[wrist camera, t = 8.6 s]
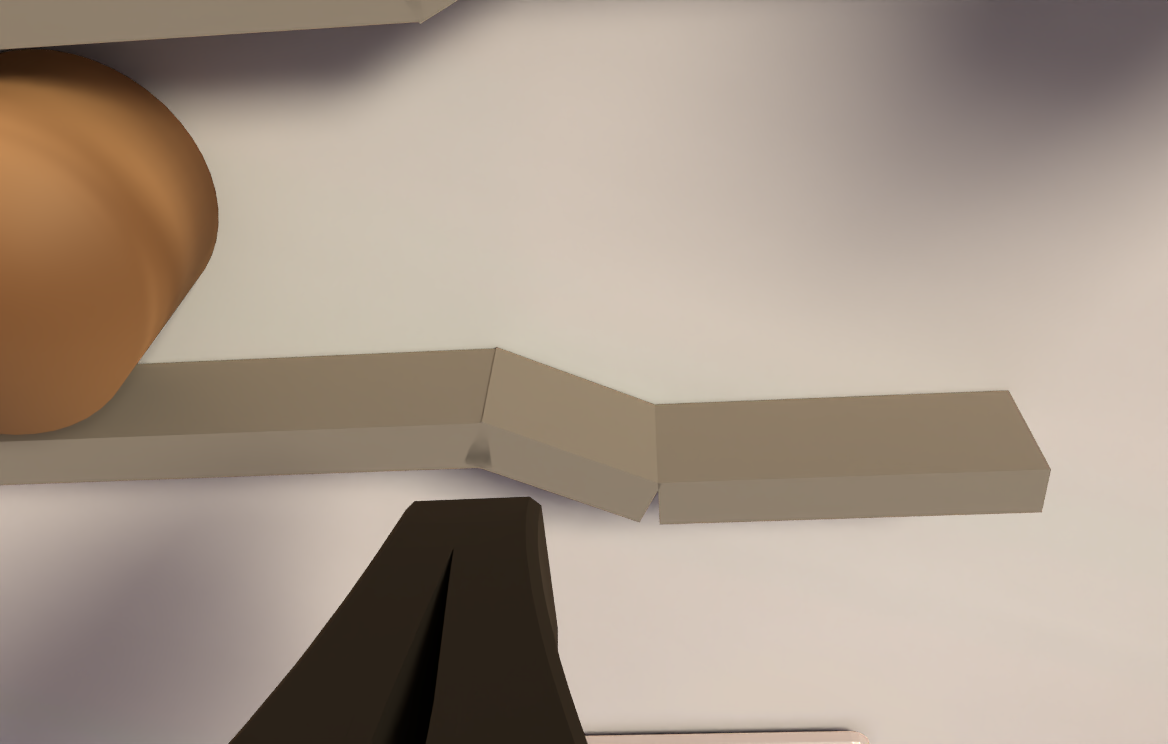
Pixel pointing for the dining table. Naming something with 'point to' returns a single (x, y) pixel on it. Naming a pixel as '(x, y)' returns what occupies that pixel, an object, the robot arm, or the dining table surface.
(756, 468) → the keyhole track
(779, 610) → the dining table surface
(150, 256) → the tan rounded capsule
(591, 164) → the dining table surface
